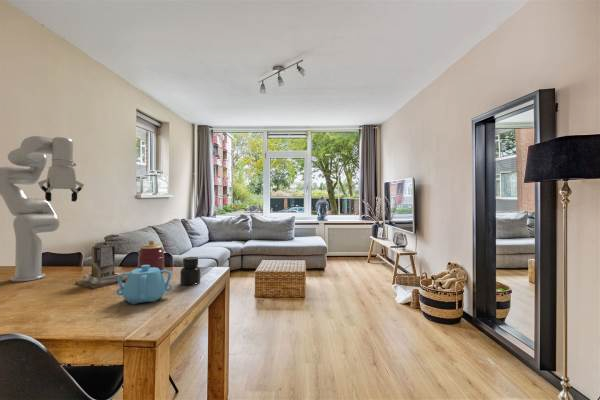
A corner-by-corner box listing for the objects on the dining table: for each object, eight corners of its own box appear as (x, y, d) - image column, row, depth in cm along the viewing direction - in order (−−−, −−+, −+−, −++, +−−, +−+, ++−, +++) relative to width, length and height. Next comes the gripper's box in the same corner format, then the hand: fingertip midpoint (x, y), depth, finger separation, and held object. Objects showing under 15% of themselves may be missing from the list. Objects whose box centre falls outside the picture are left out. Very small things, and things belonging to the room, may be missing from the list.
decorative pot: (111, 302, 113) (112, 266, 113) (150, 291, 127) (150, 259, 127) (137, 310, 105) (138, 272, 105) (175, 297, 119) (176, 263, 119)
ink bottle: (204, 281, 143) (204, 256, 144) (195, 286, 135) (196, 260, 135) (185, 280, 144) (185, 256, 145) (175, 285, 136) (176, 259, 136)
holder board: (75, 283, 137) (75, 276, 137) (111, 276, 151) (111, 269, 151) (92, 289, 129) (92, 281, 129) (129, 280, 142) (129, 273, 143)
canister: (131, 275, 153) (132, 241, 153) (148, 269, 166) (148, 238, 166) (154, 276, 151) (154, 242, 151) (169, 270, 164) (169, 239, 164)
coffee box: (114, 279, 140) (115, 246, 140) (99, 283, 135) (100, 247, 135) (105, 277, 145) (106, 244, 145) (90, 279, 140) (91, 246, 140)
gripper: (79, 167, 146) (79, 201, 145) (35, 162, 131) (34, 201, 131) (87, 166, 142) (86, 201, 142) (42, 161, 127) (41, 201, 127)
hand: (61, 201), depth 136 cm, fingers open, 9 cm apart
